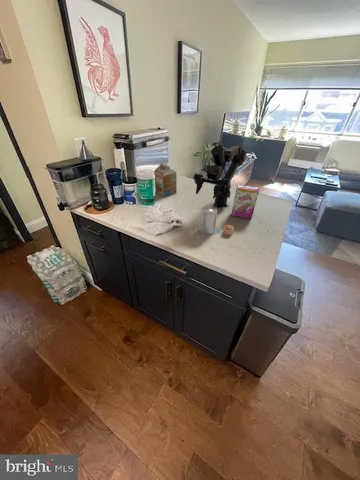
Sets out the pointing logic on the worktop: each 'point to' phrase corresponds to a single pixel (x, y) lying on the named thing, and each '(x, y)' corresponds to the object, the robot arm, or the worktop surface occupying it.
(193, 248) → the worktop surface
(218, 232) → the slate mat
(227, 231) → the orange rounded ball
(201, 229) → the white can
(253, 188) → the candy bar box
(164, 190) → the milk carton
